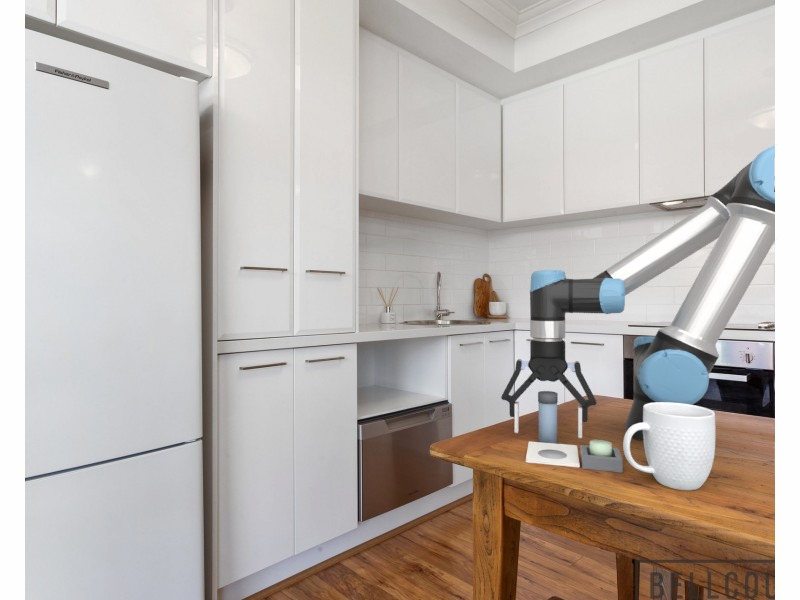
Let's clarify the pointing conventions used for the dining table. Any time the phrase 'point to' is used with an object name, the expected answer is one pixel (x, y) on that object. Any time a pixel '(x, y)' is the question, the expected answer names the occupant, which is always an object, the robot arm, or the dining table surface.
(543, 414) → the capped blue-grey cylinder
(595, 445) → the button
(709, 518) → the dining table surface
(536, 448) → the white flat plate
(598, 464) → the button housing
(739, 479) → the dining table surface
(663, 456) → the mug
